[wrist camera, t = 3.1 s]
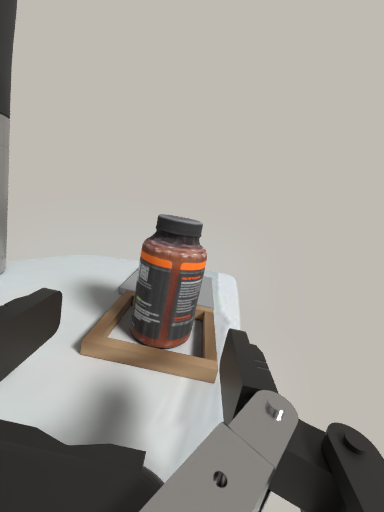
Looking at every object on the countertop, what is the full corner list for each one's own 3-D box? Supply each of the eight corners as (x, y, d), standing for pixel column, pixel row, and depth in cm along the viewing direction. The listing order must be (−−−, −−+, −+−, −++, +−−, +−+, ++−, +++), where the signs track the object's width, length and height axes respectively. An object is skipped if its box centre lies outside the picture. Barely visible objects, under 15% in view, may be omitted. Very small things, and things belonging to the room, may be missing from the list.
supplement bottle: (196, 328, 25) (221, 224, 23) (176, 361, 20) (206, 227, 17) (147, 311, 27) (164, 211, 24) (115, 336, 21) (134, 210, 19)
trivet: (118, 293, 30) (119, 287, 29) (143, 267, 41) (143, 263, 41) (212, 313, 29) (213, 307, 29) (210, 282, 41) (211, 277, 41)
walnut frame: (80, 354, 18) (81, 340, 18) (125, 299, 28) (126, 290, 28) (214, 383, 18) (217, 369, 18) (210, 317, 28) (213, 308, 28)
